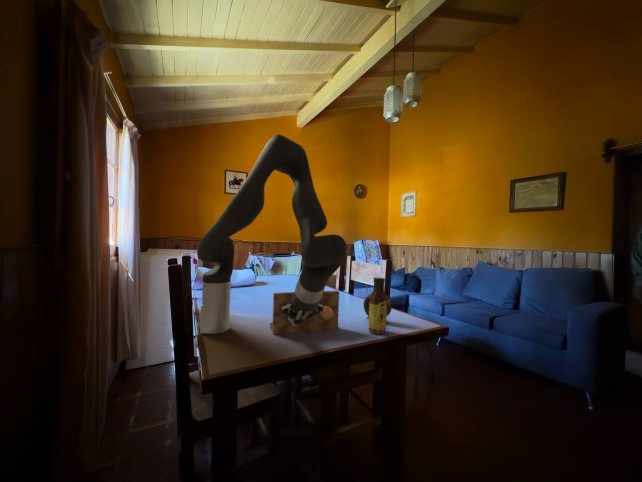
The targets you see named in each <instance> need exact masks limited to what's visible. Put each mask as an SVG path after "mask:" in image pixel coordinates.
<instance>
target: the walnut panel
mask: <svg viewBox="0 0 642 482" xmlns="http://www.w3.org/2000/svg"><path fill="white" fill-rule="evenodd" d="M293 294H294V291H287V292H285V291H284V292H273V297H272V299H273V300H272V322H270V324H269V328H270V330H271V332H272V335H283V334H295V333H297V334H298V333H307V332H321V331H331V330H332V331H334V330H339V312H340V311H339V310H340V309H339V308H340V306H339V305H340V291H338V290H324V292H323V295H322V297H321V299H320V301H319V302H322V305H327V306H329V307H330V308H332V310H333V316H332V318H330V319H328V320H325V319H324V318H322V317H321V316H320V314H319V313H318V314H316V315H314V316H313V317H311V318H307V317H306V318H305V319H304V320H303V322H302V323H301V324H300V325H298V326H294V325H292V324H291V323H290V321H289V320H288V317H287V316H286V315H284V314H283V313H282V304H286V305H288V304H289V302H290V301H291V300H292V298H293ZM311 313H312V311H311Z"/></svg>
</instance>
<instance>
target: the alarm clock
mask: <svg viewBox="0 0 642 482" xmlns="http://www.w3.org/2000/svg"><path fill="white" fill-rule="evenodd" d="M370 295H371V293H370V294H368V295H367V296H366V297H365V298H364V300H363V310H364V312H365V314H366V315H367V317H366V319H367V320H369V305H370ZM386 298H387V315H386V318H387V317H388V316H389V315H390V314H391V312H392V308H393V307H392V301H391V300H390V297H388V296H387V295H386ZM388 323H389V322H388V320H387V319H386V324H388Z"/></svg>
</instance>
